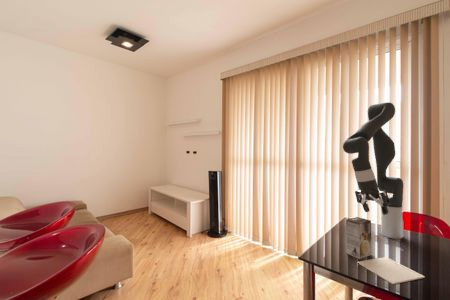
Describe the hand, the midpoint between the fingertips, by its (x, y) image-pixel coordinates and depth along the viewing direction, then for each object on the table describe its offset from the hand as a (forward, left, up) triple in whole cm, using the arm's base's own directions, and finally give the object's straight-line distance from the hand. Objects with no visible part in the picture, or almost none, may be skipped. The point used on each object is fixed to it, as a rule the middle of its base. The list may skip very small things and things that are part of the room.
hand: (376, 212), depth 95 cm
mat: (+7, +11, -19) cm, 23 cm away
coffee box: (+8, -2, -19) cm, 21 cm away
